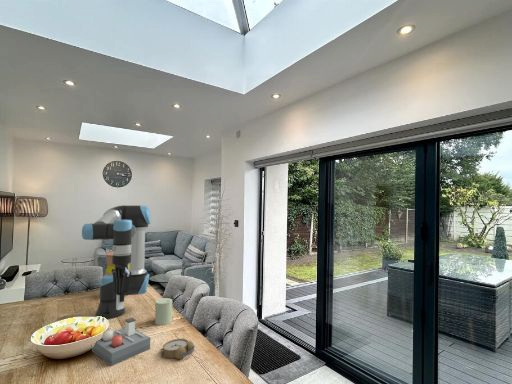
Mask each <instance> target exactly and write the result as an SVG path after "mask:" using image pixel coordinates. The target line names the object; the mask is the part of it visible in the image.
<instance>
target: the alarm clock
mask: <svg viewBox="0 0 512 384" xmlns="http://www.w3.org/2000/svg"><path fill="white" fill-rule="evenodd" d="M195 347H196V346H195V345H194V342H193V341H192V340H188V339H185V338H176V339H172V340H168V341H167V342H166V343H164V344H163V345H162V348H160V351H162V356H163V357H164V358H166V359H167V358H168V359H174V358H175V359H177V360H182V359H183V358H185V357H186V356H188V355H190V354H192V353H194V352H195Z"/></svg>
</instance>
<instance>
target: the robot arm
mask: <svg viewBox="0 0 512 384" xmlns="http://www.w3.org/2000/svg"><path fill="white" fill-rule="evenodd" d="M150 212H151V211H150V208H149V206H147V205H142V204H141V205H125V204H124V205H118V206H115V207H112V208H109V209H108V210H106V211H105V212H104V213H103V215H102V216H101V217H100V218H99V219H97V220H96V221H95V222H93V223H92V222H91V223H85V224H83V226H82V229H81V237H82V239H83V240H87V241H95V240H96V241H97V240H101V241H102V240H112V248H111V251H113V254H114V255H113V256H112V264H114V265H115V269H112V274H109V275H106V276H104V275H103V276H102V277H101V279H100V285H99V303H98V306H97V310H96V311H95V317H96V316H102V317H105V318H107V319H106V320H110V319H115V318H118V317H121V316H123V315H124V314H125V313H126V312H125V310H126V309H125V297H124V295H128V296H134V295H135V296H136V295H143V294H144V295H145V294H146V293H147V290H148V285H149V280H150V274H149V273H148V271H147V270H146V269H145V261H146V260H145V259H146V258H145V256H146V255H145V254H146V253H145V252H146V251H145V250H146V229H148V227H149V225H150V224H151V222H152V220H151V219H152V217H151V213H150ZM128 264H129V270H128Z"/></svg>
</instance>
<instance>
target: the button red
mask: <svg viewBox="0 0 512 384" xmlns="http://www.w3.org/2000/svg"><path fill="white" fill-rule="evenodd" d="M121 345H122V335H116V336H113V337H112V344H111V347H112V348H116V347H119V346H121Z"/></svg>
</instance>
